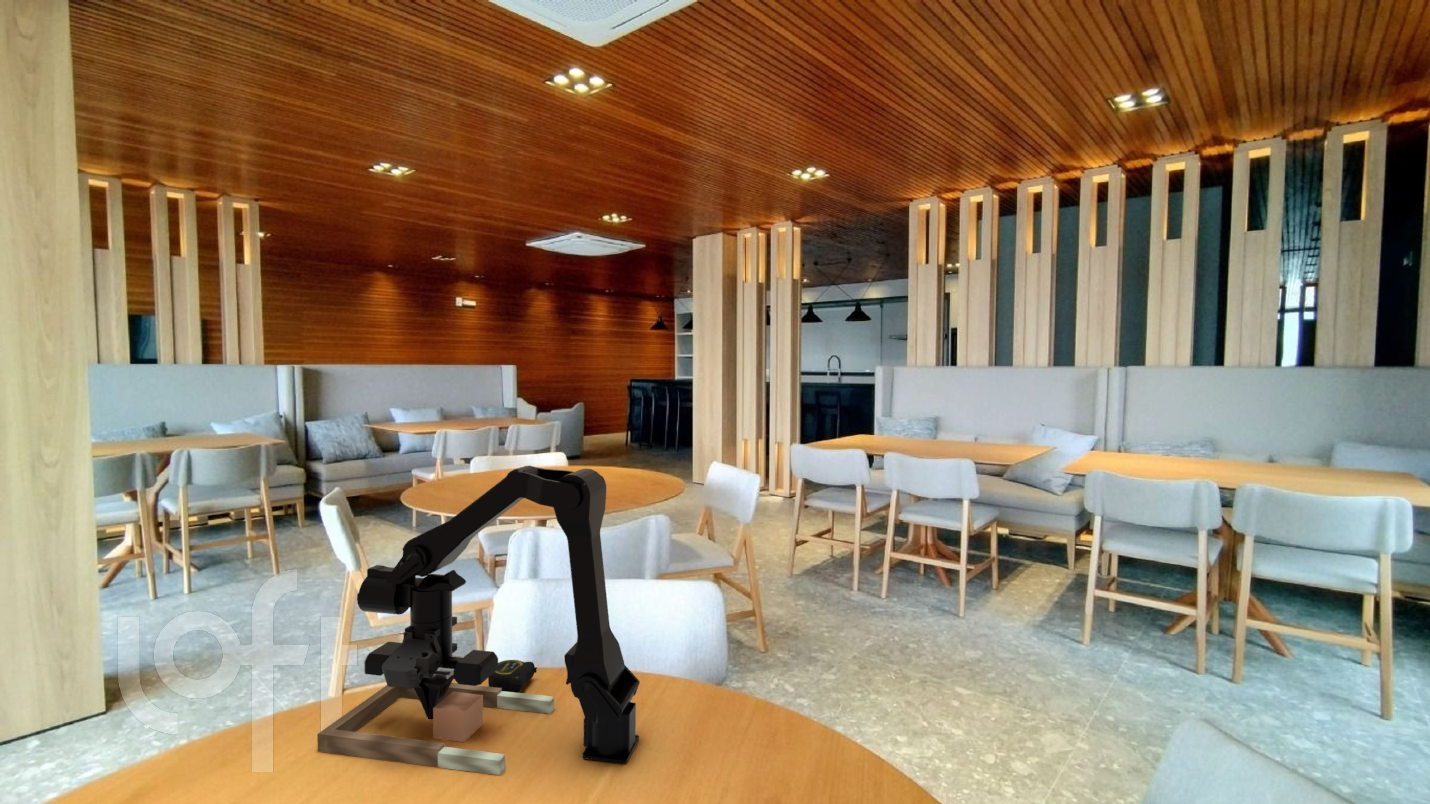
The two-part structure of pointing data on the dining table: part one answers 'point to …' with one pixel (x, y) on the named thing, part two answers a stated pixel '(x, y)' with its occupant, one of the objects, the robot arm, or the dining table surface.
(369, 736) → the bay
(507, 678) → the tape measure
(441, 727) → the block
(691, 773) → the dining table surface
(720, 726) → the dining table surface
